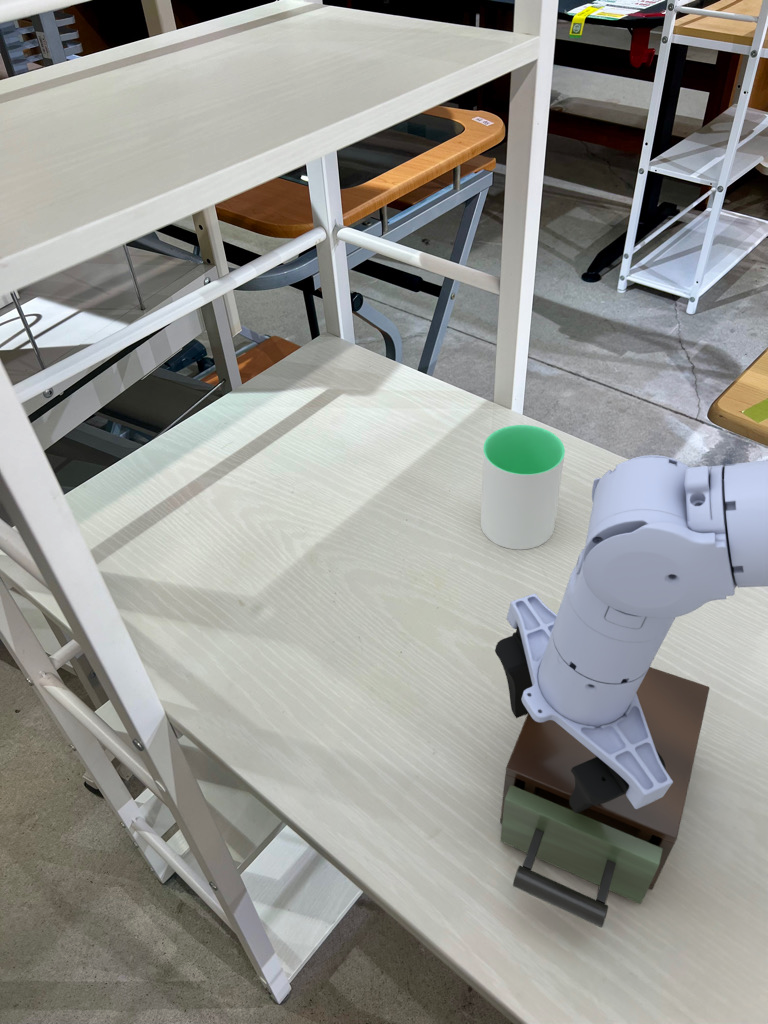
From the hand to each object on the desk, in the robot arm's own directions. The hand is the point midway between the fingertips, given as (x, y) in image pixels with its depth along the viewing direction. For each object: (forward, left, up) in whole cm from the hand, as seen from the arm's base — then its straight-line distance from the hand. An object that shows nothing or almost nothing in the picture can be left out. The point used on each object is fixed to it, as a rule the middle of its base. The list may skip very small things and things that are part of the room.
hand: (553, 754), depth 52 cm
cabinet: (-1, -5, -9) cm, 10 cm away
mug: (+27, -21, -9) cm, 36 cm away
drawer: (-3, -1, -8) cm, 9 cm away
